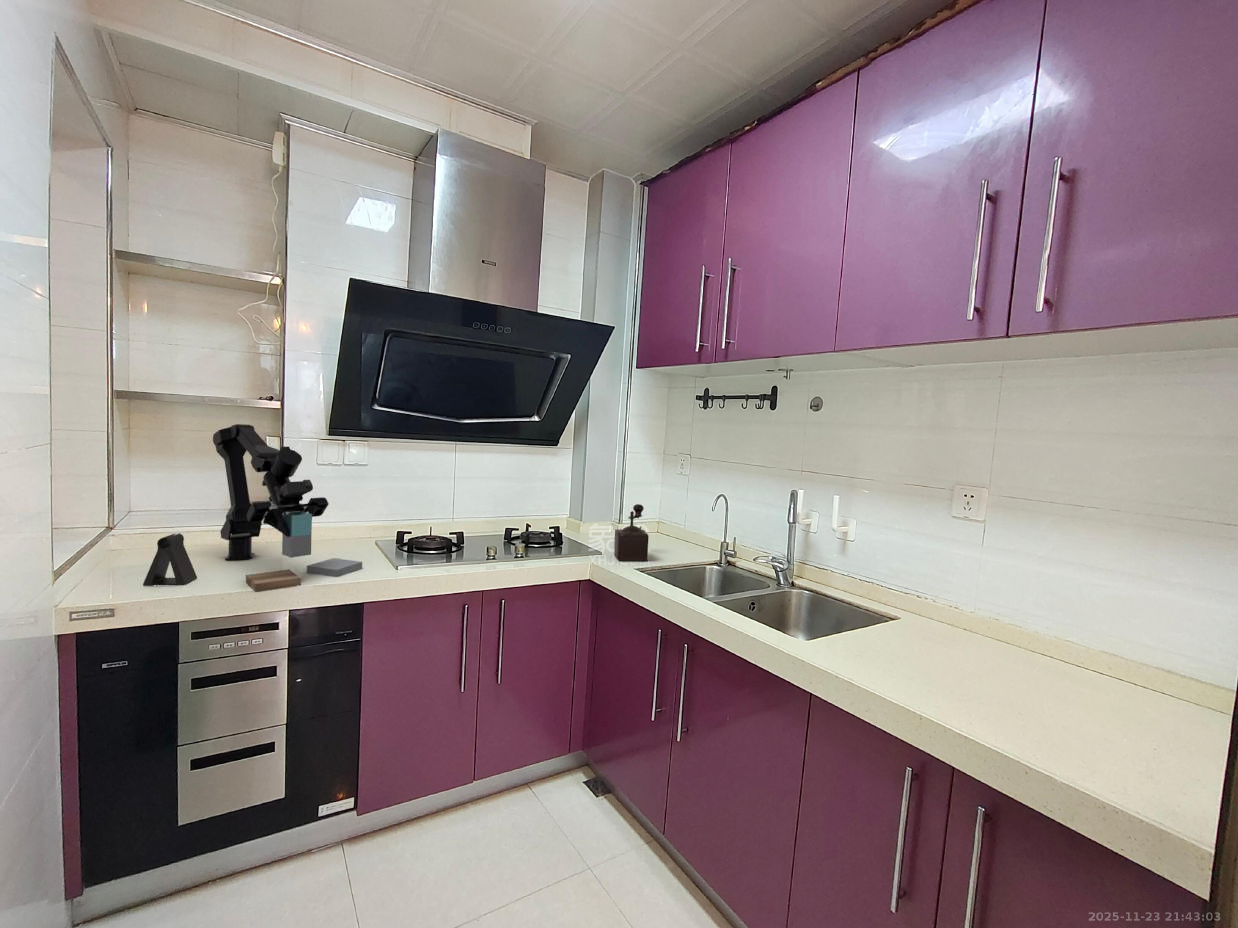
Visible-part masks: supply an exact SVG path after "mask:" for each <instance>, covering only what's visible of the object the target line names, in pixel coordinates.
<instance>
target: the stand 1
mask: <svg viewBox="0 0 1238 928" xmlns="http://www.w3.org/2000/svg"><path fill="white" fill-rule="evenodd" d="M245 583H246V584H247V585H248V587H250V588H251V589H252V590H253V591H254V592H255V593H257V592H264V591H272V590H279V589H283V588H284V587H285V588H290V587H291V586H292V587H298V586H297V585H299V586H301V585H302V577H301V576H300V575H298V574H296V572H294V571H292V570H291V569H283V570H282V569H281V570H275V571H267V572H259V573H258V572H257V573H253V574H252V573H250V574H245ZM285 588H284V589H285Z"/></svg>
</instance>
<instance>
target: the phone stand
mask: <svg viewBox="0 0 1238 928" xmlns="http://www.w3.org/2000/svg"><path fill="white" fill-rule="evenodd" d="M184 541H185V538H184V535H183V534H182V533H180V532H179V533H173V534H168V535H167V536H163V537H161V538H159V539H158V540H157V542H156V543H157V544H156V545H157V551H156V553H155V555H154V557H153V560H152V562H151V564H150V567H149V569H148V572H147V574H146V577H145V579H144V580H143V583H142V585H143V587H150V586H151V587H156V586H157V585H164V586H165V585H175V586H186V585H187V584H189V583H191V582H193V581H195V580H196V579H197V578H198V575H197V573H196V571H195V569H194V567H193V564H192V561H191V560H190V557H189V554H188V552H187V550H186V548H185V545H184ZM169 565H170V566H171V569H172V572H173V576H174V577H166V575H167V572H168V569H169ZM154 585H156V586H154ZM157 587H158V586H157Z"/></svg>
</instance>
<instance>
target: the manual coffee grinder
mask: <svg viewBox="0 0 1238 928" xmlns="http://www.w3.org/2000/svg"><path fill="white" fill-rule="evenodd" d="M632 508H633V509H632V511H630V515H629V516H628V517H627V519H629V520H630V525H628V526H626V527H624V528H620V529H615V530H614V541H613V542H614V547H613V548H614V549H613V550H614V552H613V554H614V557H615V559H616V560H617V561H618V562H634V563H635V562H639V563H641V562H643V563H644V562H645V563H646V562H648V561H649V560H648V554H649V553H648V552H649V534H648V533H647V532H646V530H644V529H642V526H640V527H638V526H636V525H634V519H639V518H642V517H643V515H642V514H643V513H642V512H643V511H644V506H643V505H642V504H639V503H638V504H637V503H636V504H634V505H633V506H632Z"/></svg>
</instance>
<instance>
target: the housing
mask: <svg viewBox="0 0 1238 928" xmlns="http://www.w3.org/2000/svg"><path fill="white" fill-rule="evenodd" d="M283 518H284V520H285V522H286V524H287V527H288V529H289V532H290V536H289V537H287V536H285V535H284V534H283V533H281V534H282V538H281V539H282V540H281V542H282V543H281V545H282V546H281V555H283V556H286V557H288V558H291V559H292V558H299V557H305V556H311V555H312V534H313V533H312V531H313V530H312V528H313V524H312V523H313V522H312V521H313V517H312V514H310V513H309V512H303V511H302V512H291V513H289V512H286V513H283Z"/></svg>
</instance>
